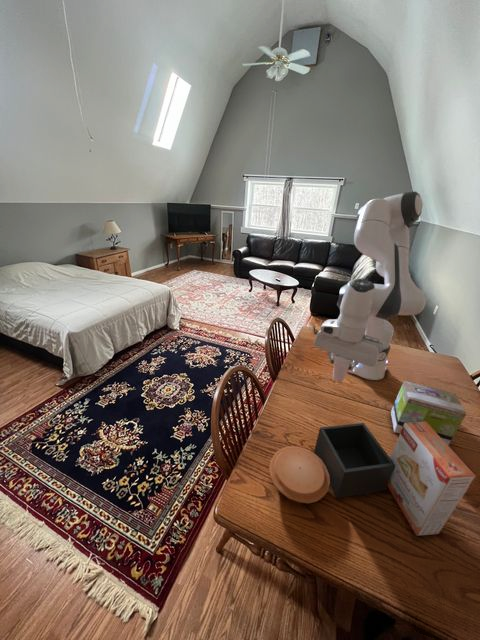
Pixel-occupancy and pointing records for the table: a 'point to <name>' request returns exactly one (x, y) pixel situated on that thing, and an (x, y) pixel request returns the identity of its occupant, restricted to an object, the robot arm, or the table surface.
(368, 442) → the trash bin
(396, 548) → the table surface
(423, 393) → the tea box
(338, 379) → the smoothie
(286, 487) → the pie
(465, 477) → the cracker box
